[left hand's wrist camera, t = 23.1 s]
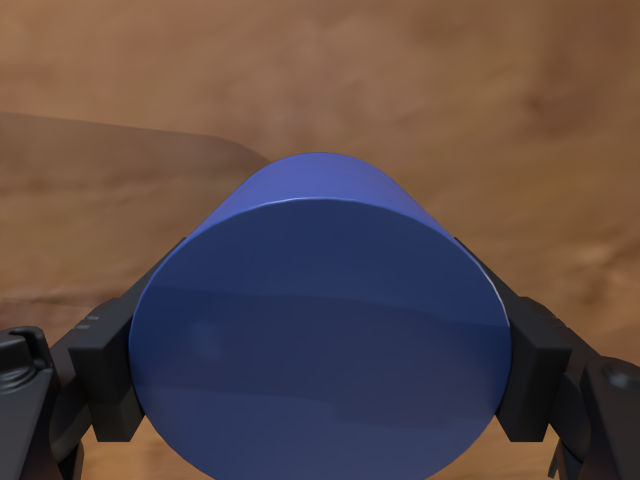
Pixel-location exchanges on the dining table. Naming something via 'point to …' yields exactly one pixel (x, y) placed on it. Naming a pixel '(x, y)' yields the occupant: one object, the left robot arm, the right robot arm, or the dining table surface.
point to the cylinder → (320, 333)
